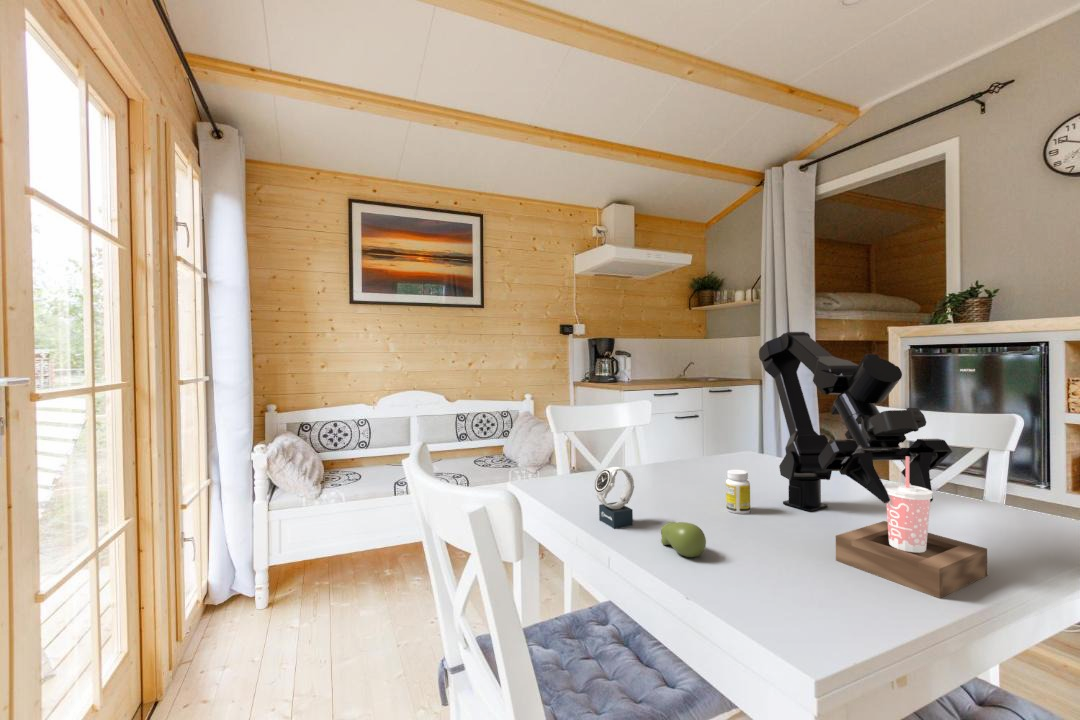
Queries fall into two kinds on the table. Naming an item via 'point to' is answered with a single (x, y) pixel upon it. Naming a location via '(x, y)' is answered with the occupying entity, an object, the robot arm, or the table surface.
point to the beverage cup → (908, 515)
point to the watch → (616, 511)
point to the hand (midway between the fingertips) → (908, 501)
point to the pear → (684, 538)
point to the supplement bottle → (738, 492)
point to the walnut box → (913, 560)
